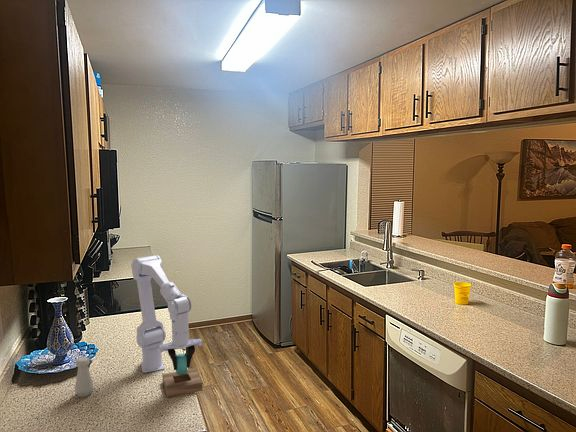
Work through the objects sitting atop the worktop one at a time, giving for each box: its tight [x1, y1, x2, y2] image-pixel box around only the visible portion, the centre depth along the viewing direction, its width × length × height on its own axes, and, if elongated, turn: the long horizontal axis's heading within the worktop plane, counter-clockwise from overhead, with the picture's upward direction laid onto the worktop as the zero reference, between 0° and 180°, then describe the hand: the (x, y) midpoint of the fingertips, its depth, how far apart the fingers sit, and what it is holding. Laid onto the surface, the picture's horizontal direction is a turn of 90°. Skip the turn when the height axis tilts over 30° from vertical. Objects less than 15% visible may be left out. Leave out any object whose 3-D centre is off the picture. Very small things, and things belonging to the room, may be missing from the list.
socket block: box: [162, 368, 203, 399], centre depth 158 cm, size 12×12×3 cm
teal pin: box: [175, 353, 188, 375], centre depth 157 cm, size 4×4×6 cm
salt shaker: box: [74, 356, 94, 398], centre depth 152 cm, size 6×6×13 cm
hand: (181, 367), depth 158 cm, fingers closed on teal pin, 4 cm apart
